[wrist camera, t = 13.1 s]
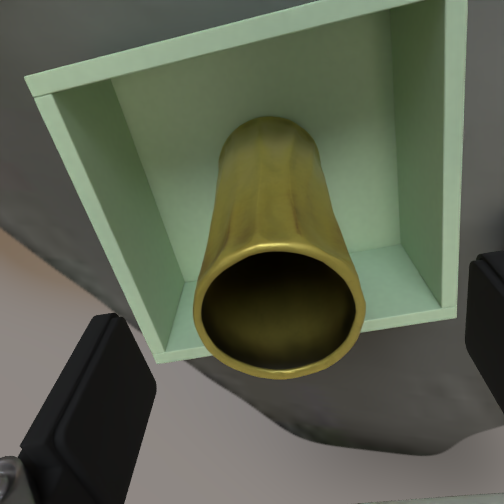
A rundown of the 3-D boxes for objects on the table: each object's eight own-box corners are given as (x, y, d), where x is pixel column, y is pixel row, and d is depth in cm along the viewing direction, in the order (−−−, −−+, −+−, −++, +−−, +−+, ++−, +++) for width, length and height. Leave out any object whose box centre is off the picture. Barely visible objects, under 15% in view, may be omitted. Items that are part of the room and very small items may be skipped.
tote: (94, 59, 22) (22, 76, 16) (400, -19, 20) (470, -39, 14) (179, 286, 30) (156, 364, 23) (409, 245, 28) (457, 318, 21)
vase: (306, 220, 26) (348, 401, 14) (212, 205, 26) (168, 376, 13) (331, 125, 23) (414, 247, 11) (226, 106, 23) (185, 210, 10)
